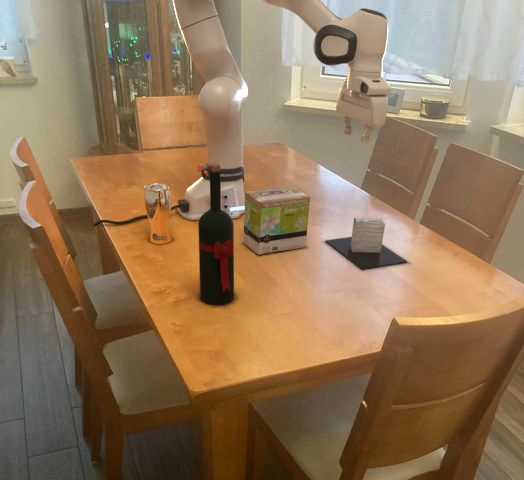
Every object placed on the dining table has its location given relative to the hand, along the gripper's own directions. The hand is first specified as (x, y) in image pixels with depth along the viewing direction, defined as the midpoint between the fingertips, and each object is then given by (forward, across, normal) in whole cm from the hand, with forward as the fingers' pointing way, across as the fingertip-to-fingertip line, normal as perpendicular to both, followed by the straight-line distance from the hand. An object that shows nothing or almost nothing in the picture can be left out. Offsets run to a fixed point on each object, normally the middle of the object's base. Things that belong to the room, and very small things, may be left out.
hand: (355, 138), depth 149 cm
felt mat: (+26, +16, -2) cm, 31 cm away
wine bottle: (+27, +30, -49) cm, 64 cm away
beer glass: (+28, -9, -54) cm, 61 cm away
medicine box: (+26, +16, -2) cm, 31 cm away
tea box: (+27, +5, -24) cm, 37 cm away
